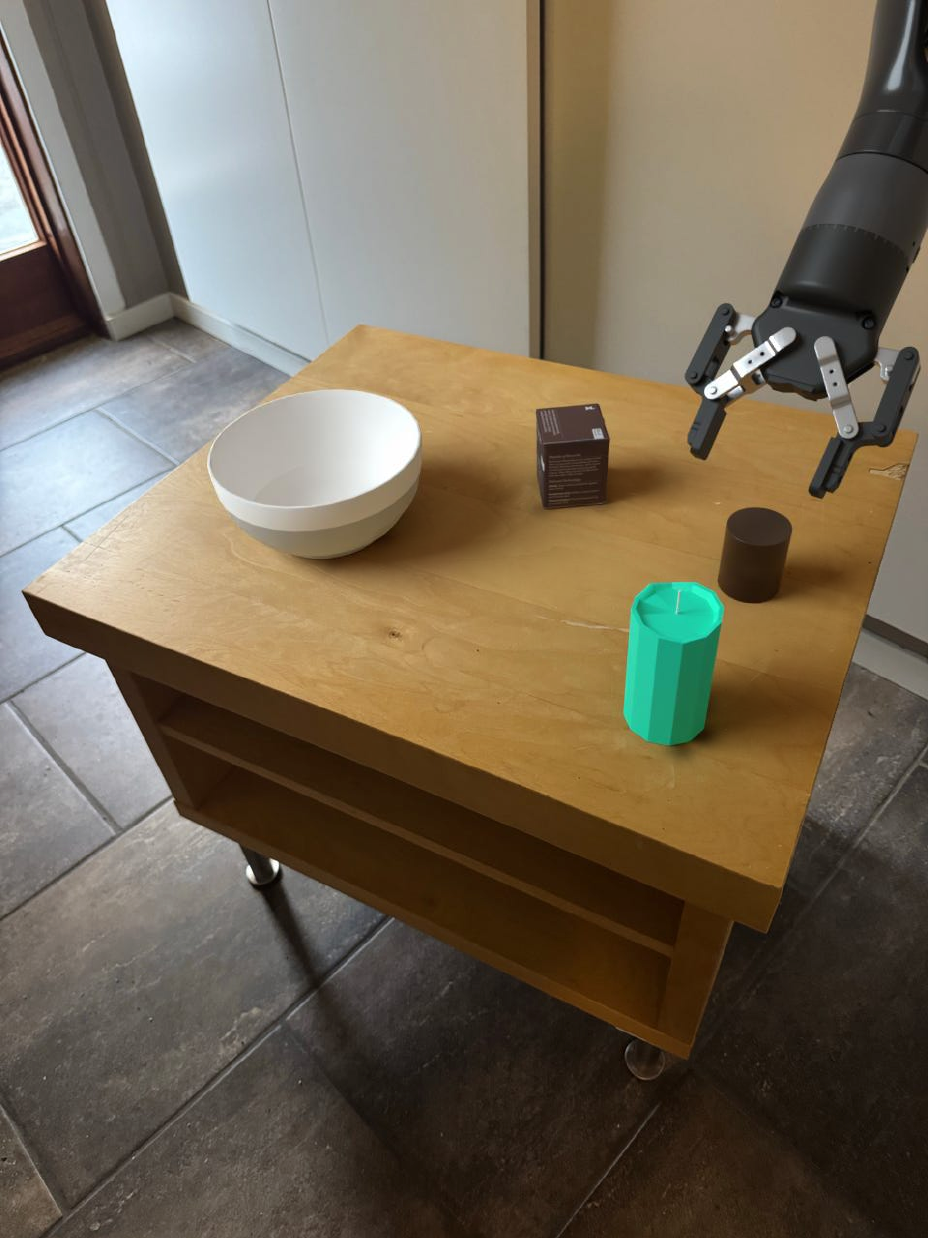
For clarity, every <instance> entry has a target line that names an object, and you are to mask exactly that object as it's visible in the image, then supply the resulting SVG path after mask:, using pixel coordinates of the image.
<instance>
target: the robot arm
mask: <svg viewBox="0 0 928 1238" xmlns="http://www.w3.org/2000/svg"><path fill="white" fill-rule="evenodd" d="M875 3H876V4H875V7H874V8H875V9H874V14H873V18H872V27H871V33H870V34H871V35H870V43H869V49H868V58H867V65H866V70H865V76H864V80H863V85H862V89H861V93H860V97H859V101H858V104H857V107H856V110H855V112H854V115H853V118H852V120H851V122H850V124H849V127H848V130H847V132H846V134H845V136H844V139H843V141H842V143H841V146H840V148H839V150H838V152H837V154H836V157H835V159H834V162H833V164H832V166H831V168H830V169H829V171H828V174H827V176H826V178H825V179H824V181H823V183H822V184H821V185H820V187H819V189H818V191H817V193H816V195H815V196H814V198H813V200H812V203H811V205H810V207H809V209H808V211H807V214H806V217H805V218H804V221H803V223H802V226H801V228H800V229H799V232H798V235H797V236H796V239H795V242H794V243H793V246H792V249H791V250H790V253H789V255H788V258H787V260H786V262H785V264H784V266H783V269H782V272H781V274H780V276H779V278H778V281H777V283H776V285H775V288H774V290H773V291H772V295H771V298H770V301H769V303H768V305H767V307H766V308H765V310H763V312H762V313H760V314H759V315H758V316H757V317H756V316H752V315H750V314H745V313H742V312H739V311H736V310H735V308H734V306H733V305H732V304H731V303H729V302H724V303H721V304H720V305H719V306H717V308H716V310H715V313H714V314H713V316H712V318H711V321H710V322H709V324H708V326H707V329H706V331H705V332H704V335H703V337H702V338H701V341H700V343H699V344H698V347H697V348H696V351H695V353H694V354H693V357H692V358H691V361H690V363H689V365H688V366H687V369H686V371H685V373H684V380H685V382H686V383H687V384H688V385H689V386H690V387H691V389H692V390H693V392H695V394H697V395H699V396H700V397H701V403H700V405H699V407H698V409H697V412H696V415H695V417H694V419H693V422H692V424H691V426H690V428H689V431H688V433H687V438H686V439H687V440H686V443H687V445H689V446H690V449H689V452H690V454H691V455H692V456H693V457H694V458H695V459H698V460H701V461H705V462H706V460H707V459H708V458H709V456H710V454H711V451H712V449H713V447H714V444H715V442H716V440H717V437H718V435H719V434H720V433H719V432H720V430H721V428H722V426H723V423H724V421H725V420H726V416H727V414H728V413H727V411H726V409H727V408H728V407H729V406H731V405H733V404H734V403H736V402H737V401H738V400H740V399H741V398H743V397H745V396H746V395H751V394H753V393H756V392H757V391H758V390H760V389H761V388H763V387H764V386H766V385H768V386H770V388H771V390H773V391H776V392H779V393H783V394H786V393H787V394H796V395H798V396H799V397H802V398H804V399H805V400H808V401H812V402H817V401H818V400H824V399H827V398H828V401H829V404H830V407H831V410H832V413H833V417H834V420H835V424H836V427H837V433H836V436H835V437H833V436H830V439H829V441H828V443H827V445H826V447H825V450H824V452H823V455H822V456H821V459H820V460H819V463H818V465H817V468H816V470H815V472H814V474H813V477H812V478H811V480H810V483H809V486H808V490H807V492H808V493H809V495H810V496H811V497H813V498H815V499H819V500H824V497H825V496H826V494H827V493H830V494H834V493H835V492H836V491H837V490H838V489H839V488H840V485H841V484H842V482H843V479H844V477H845V474H846V472H847V471H848V469H849V466H850V464H851V461H852V459H853V457H854V455H855V453H856V452H857V451H858V450H859V449H862V448H863V447H876V446H877V447H879V448H882V449H884V448H887V447H890V446H891V445H892V444H893V443H894V440H895V438H896V436H897V432H898V430H899V428H900V425H901V422H902V420H903V418H904V414H905V412H906V409H907V406H908V404H909V401H910V398H911V396H912V393H913V391H914V388H915V386H916V383H917V380H918V378H919V375H920V372H921V369H922V366H921V357H920V353H919V350H918V349H917V348H916V347H914V346H905V347H903V348H901V349H900V350H898V349H893V348H888V347H887V348H886V347H881V346H879V342H880V341H879V340H880V337H881V335H882V332H883V330H884V328H885V326H886V324H887V321H888V319H889V317H890V314H891V312H892V310H893V308H894V306H895V304H896V301H897V299H898V297H899V294H900V292H901V291H902V287H903V285H904V283H905V281H906V279H907V277H908V274H909V272H910V270H911V267H912V266H913V264H915V262H916V260H917V258H918V256H919V254H920V251H921V249H922V247H921V246H922V243H923V241H924V238H925V236H926V233H927V231H928V0H876V2H875ZM750 335H751V339H752V343H753V347H754V349H753V350H752V351H749V352H748V353H747V354H745V355H744V356H742V357H741V358H739V359H738V360H736V361H735V362H734V363H732V364H731V366H730V368H729V369H728V370H727V371H726V372H724V373H723V374H721V375H720V376H718V377H717V374H718V373H719V371H720V369H721V367H722V366H723V363H724V362H725V361H724V360H725V359H726V356H727V355H728V352H729V351H730V348H731V346H737V345H739V343H741V341H742V340H743V339H744V338H746V337H747V336H750ZM875 366H877V367H879V368H880V372H879V375H880V379H881V382H882V384H883V385H885V388H884V391H883V394H882V396H881V398H880V401H879V404H878V407H877V409H876V412H875V415H874V417H873V419H872V421H858V420H859V419H858V417H857V413H856V410H855V409H856V408H855V406H854V402H853V399H852V396H851V391H850V389H849V384H851V383H852V382H854V381H856V380H857V379H858V378H860V377H861V376H863V375H865V374H866V373H868V372H869V371H871V370H872V369H873V368H874V367H875ZM817 403H818V402H817Z"/></svg>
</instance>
